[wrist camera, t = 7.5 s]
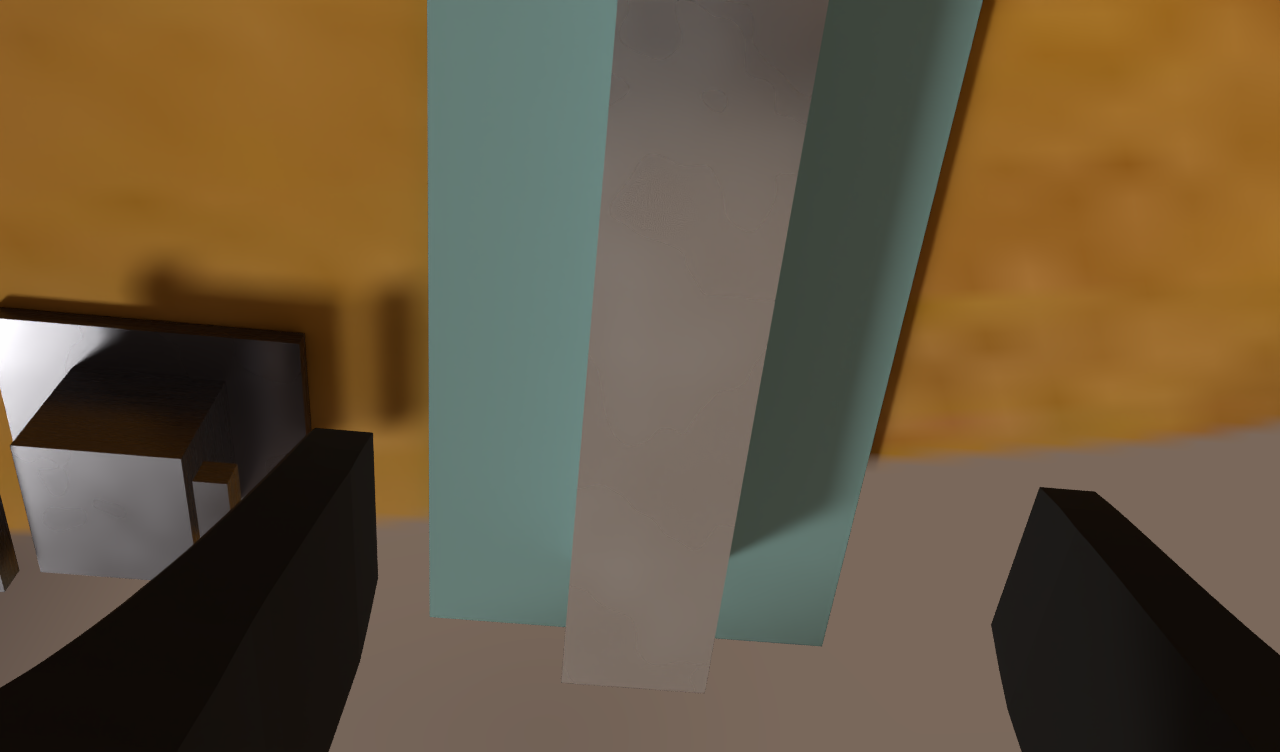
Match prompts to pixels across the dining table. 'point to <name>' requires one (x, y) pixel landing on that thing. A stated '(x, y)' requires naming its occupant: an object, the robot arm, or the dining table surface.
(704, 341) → the rail
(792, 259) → the mat
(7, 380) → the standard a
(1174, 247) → the dining table surface
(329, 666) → the robot arm
